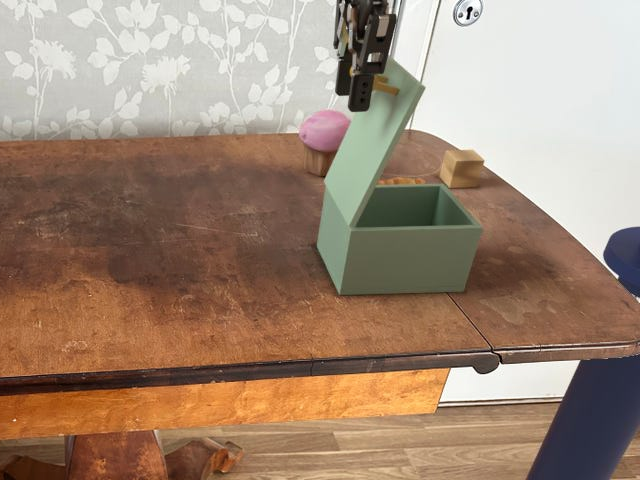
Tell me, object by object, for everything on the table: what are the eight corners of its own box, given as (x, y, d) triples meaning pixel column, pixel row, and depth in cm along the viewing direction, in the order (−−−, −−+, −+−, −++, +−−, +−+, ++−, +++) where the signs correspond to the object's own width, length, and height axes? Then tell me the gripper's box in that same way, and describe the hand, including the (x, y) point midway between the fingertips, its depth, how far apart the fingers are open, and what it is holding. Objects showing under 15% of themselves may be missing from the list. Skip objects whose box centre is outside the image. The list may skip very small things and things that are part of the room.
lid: (388, 54, 82) (349, 41, 81) (426, 87, 72) (381, 73, 71) (328, 183, 91) (292, 173, 90) (354, 228, 81) (314, 217, 80)
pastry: (361, 209, 105) (366, 185, 103) (357, 191, 111) (362, 168, 108) (426, 213, 104) (432, 189, 102) (419, 194, 110) (424, 171, 107)
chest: (428, 243, 97) (443, 183, 92) (463, 291, 87) (483, 227, 82) (316, 246, 97) (325, 185, 91) (339, 295, 87) (350, 230, 81)
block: (465, 176, 115) (473, 149, 113) (477, 187, 112) (484, 160, 109) (439, 176, 115) (445, 150, 112) (449, 188, 112) (456, 160, 109)
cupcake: (326, 158, 121) (335, 100, 115) (360, 176, 115) (371, 115, 109) (284, 168, 118) (291, 108, 112) (317, 187, 112) (326, 124, 106)
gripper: (441, -67, 63) (404, 123, 73) (391, -85, 74) (366, 82, 84) (357, -65, 62) (333, 126, 73) (321, -83, 74) (304, 84, 84)
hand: (351, 101), depth 78 cm, fingers closed on lid, 5 cm apart
